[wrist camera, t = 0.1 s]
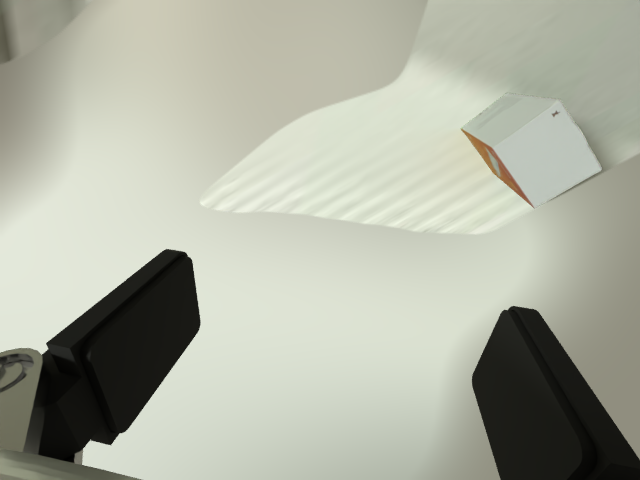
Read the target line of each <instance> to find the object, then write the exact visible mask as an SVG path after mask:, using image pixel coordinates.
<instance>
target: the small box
mask: <svg viewBox="0 0 640 480" xmlns="http://www.w3.org/2000/svg"><path fill="white" fill-rule="evenodd" d="M461 130H462V131H463V132H464V134H465V135H466V136H467V137H468V139H469V140H470V141H471V143H472V144H473V145H474V147H475V148H476V150H477V151H478V152H479V154H480V155H481V156H482V158H483V159H484V161H485V162H486V164H487V165H488V166H489V168H490V169H491V171H492V172H493V173H494V174H495V175H496V176H497V177H498V178H499V179H501V180H502V181H503V182H504V183H505V184H507V185H508V186H509V187H510V188H511V189H512V190H514V191H515V192H516V193H517V194H518V195H520V196H521V197H522V198H523V199H524V200H525V201H526V202H528V203H529V204H530V205H531V206H532V207H533V208H537V207H539V206H540V205H542V204H544V203H546V202H547V201H549V200H551V199H552V198H554V197H556V196H558V195H559V194H561V193H563V192H565V191H566V190H568V189H570V188H572V187H573V186H575V185H577V184H579V183H581V182H582V181H584V180H586V179H588V178H589V177H591V176H593V175H595V174H597V173H598V172H600V171H602V167H601V165H600V163H599V161H598V160H597V158H596V156H595V154H594V153H593V151H592V149H591V147H590V146H589V144H588V142H587V140H586V138H585V136H584V134H583V133H582V131H581V130H580V128H579V126H578V125H577V124H576V123H575V121H574V120H573V118H572V117H571V115H570V113H569V112H568V110H567V109H566V107H565V105H564V104H563V102H562V101H561V100H560V99H553V98H545V97H536V96H528V95H520V94H512V93H506V94H504V95H503V96H502V97H500V98H499V99H498V100H496V101H495V102H494V103H492V104H491V105H490V106H489V107H487V108H486V109H485V110H484V111H482V112H481V113H480V114H478V115H477V116H476V117H474V118H473V119H472V120H470V121H469V122H468V123H467V124H465V125H464V126H463V127H461Z"/></svg>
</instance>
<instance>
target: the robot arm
mask: <svg viewBox="0 0 640 480" xmlns="http://www.w3.org/2000/svg"><path fill="white" fill-rule="evenodd" d="M199 328H200V315H199V307H198V301H197V293H196V286H195V278H194V271H193V263H192V260H191V258H189V257H188V255H187V254H186V253H185V252H182V251H176V250H169V249H166V250H164V251H162V252H161V253H160V254H159V255H158V256H156V257H155V258H153V259H152V260H151V261H150V262H148V263H147V264H146V265H145V266H143V267H142V268H141V269H140V270H138V271H137V272H136V273H134V274H133V275H132V276H131V277H129V278H128V279H127V280H126V281H124V282H123V283H122V284H121V285H119V286H118V287H117V288H115V289H114V290H113V291H112V292H110V293H109V294H108V295H107V296H105V297H104V298H103V299H102V300H100V301H99V302H98V303H96V304H95V305H94V306H93V307H92V308H90V309H89V310H88V311H86V312H85V313H84V314H83V315H82V316H80V317H79V318H77V319H76V320H75V321H74V322H73V323H71V324H70V325H69V326H67V327H66V328H65V329H64V330H62V331H61V332H60V333H59V334H57V335H56V336H55V337H54V338H52V339H51V340H50V341H48V342H47V343H46V344H47V346H48V350H47V351H46V352H45V353H44V354H42V355H41V354H40V353H39V352H38V351H37V350H33V349H30V348H19V349H13V350H8V351H4V352H1V353H0V480H141V479H137V478H133V477H129V476H125V475H121V474H117V473H113V472H109V471H105V470H101V469H97V468H93V467H88V466H84V465H82V455H83V448H84V447H85V446H86V444H87V443H88V442H89V441H90V439H91V440H92V441H96V442H100V443H104V444H108V445H111V444H112V443H113V441H114V440H115V439H116V437H117V436H118V435H119V433H123V432H125V431H126V430H127V429H128V428H129V427H130V425H131V424H132V423H133V421H134V420H135V419H136V417H137V416H138V415H139V413H140V412H141V410H142V409H143V408H144V406H145V405H146V403H147V402H148V401H149V399H150V398H151V397H152V395H153V394H154V392H155V391H156V390H157V388H158V387H159V385H160V384H161V382H162V381H163V380H164V378H165V377H166V376H167V374H168V373H169V372H170V370H171V369H172V367H173V366H174V365H175V363H176V362H177V360H178V359H179V358H180V356H181V355H182V353H183V352H184V351H185V349H186V348H187V346H188V345H189V344H190V342H191V341H192V340H193V338H194V337H195V335H196V334H197V332H198V331H199ZM472 386H473V390H474V393H475V396H476V399H477V403H478V406H479V409H480V413H481V416H482V419H483V422H484V426H485V429H486V432H487V436H488V439H489V442H490V446H491V449H492V452H493V456H494V459H495V462H496V465H497V469H498V472H499V476H500V478H501V480H640V460H639V458H638V457H637V456H636V454H635V452H634V451H633V449H632V448H631V446H630V445H629V444H628V442H627V441H626V439H625V438H624V436H623V435H622V433H621V432H620V431H619V429H618V428H617V426H616V425H615V423H614V422H613V420H612V419H611V417H610V416H609V414H608V413H607V412H606V410H605V408H604V407H603V406H602V404H601V403H600V401H599V400H598V398H597V397H596V395H595V394H594V392H593V391H592V389H591V388H590V387H589V385H588V384H587V382H586V381H585V379H584V378H583V376H582V375H581V374H580V372H579V371H578V369H577V368H576V366H575V365H574V363H573V362H572V360H571V359H570V357H569V356H568V354H567V353H566V352H565V350H564V349H563V347H562V346H561V344H560V343H559V341H558V340H557V338H556V337H555V335H554V334H553V332H552V331H551V330H550V328H549V327H548V325H547V324H546V322H545V321H544V319H543V318H542V316H541V315H540V313H539V312H538V311H537V310H534V309H528V308H522V307H516V306H512V307H510V308H509V309H508V310H504V311H502V313H501V314H500V316H499V319H498V321H497V323H496V325H495V327H494V329H493V332H492V334H491V336H490V338H489V340H488V343H487V345H486V347H485V349H484V351H483V353H482V355H481V358H480V360H479V362H478V364H477V366H476V368H475V371H474V373H473V376H472Z"/></svg>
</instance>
